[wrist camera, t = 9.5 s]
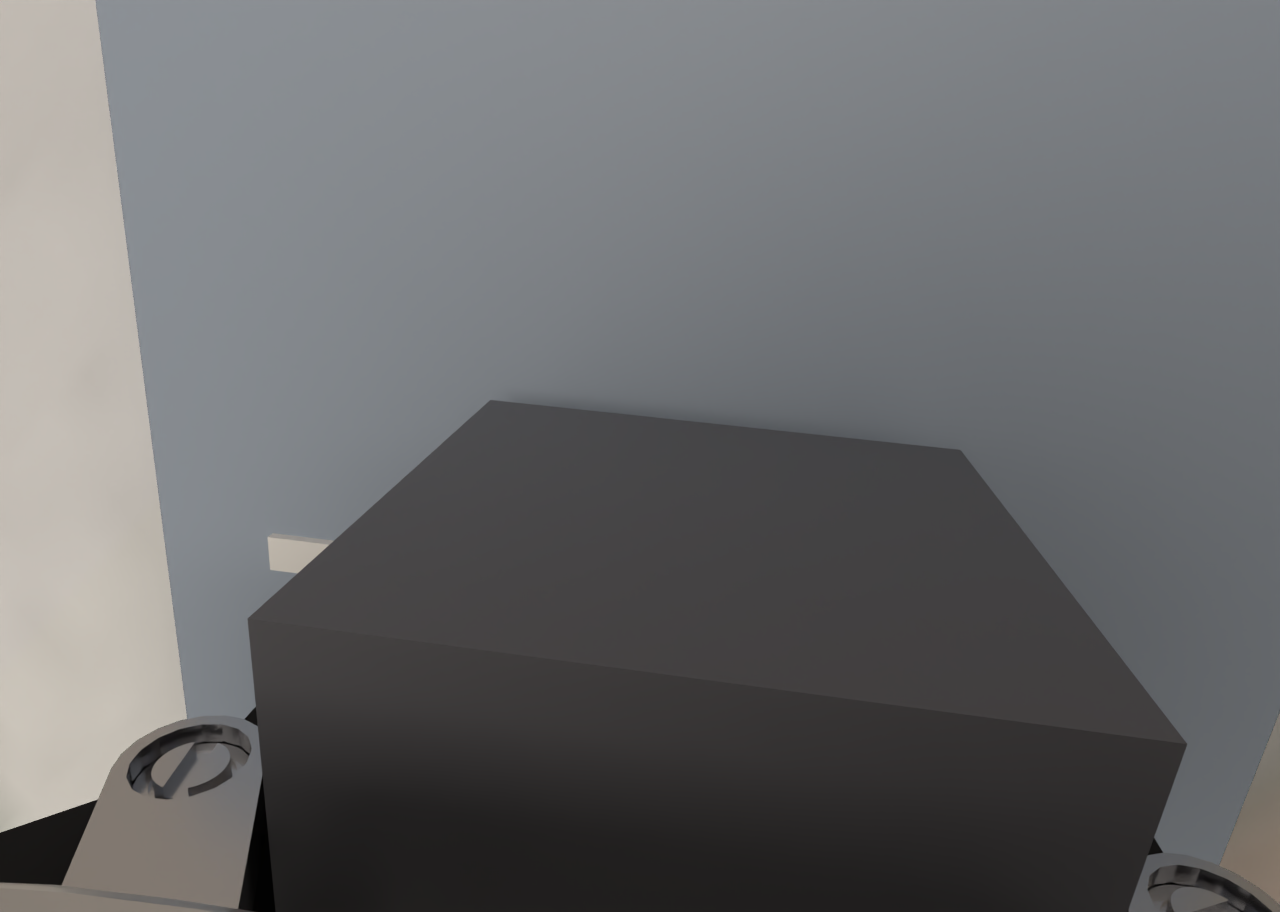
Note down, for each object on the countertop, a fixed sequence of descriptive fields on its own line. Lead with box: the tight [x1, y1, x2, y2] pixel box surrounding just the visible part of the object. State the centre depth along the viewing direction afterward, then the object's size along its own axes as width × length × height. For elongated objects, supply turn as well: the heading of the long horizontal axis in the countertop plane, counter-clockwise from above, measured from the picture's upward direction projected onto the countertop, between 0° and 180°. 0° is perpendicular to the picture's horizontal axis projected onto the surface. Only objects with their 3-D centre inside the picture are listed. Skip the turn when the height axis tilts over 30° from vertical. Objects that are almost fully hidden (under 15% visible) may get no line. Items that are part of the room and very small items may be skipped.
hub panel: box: [96, 0, 1280, 866], centre depth 12 cm, size 18×18×6 cm
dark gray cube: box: [248, 400, 1187, 912], centre depth 9 cm, size 6×6×6 cm
